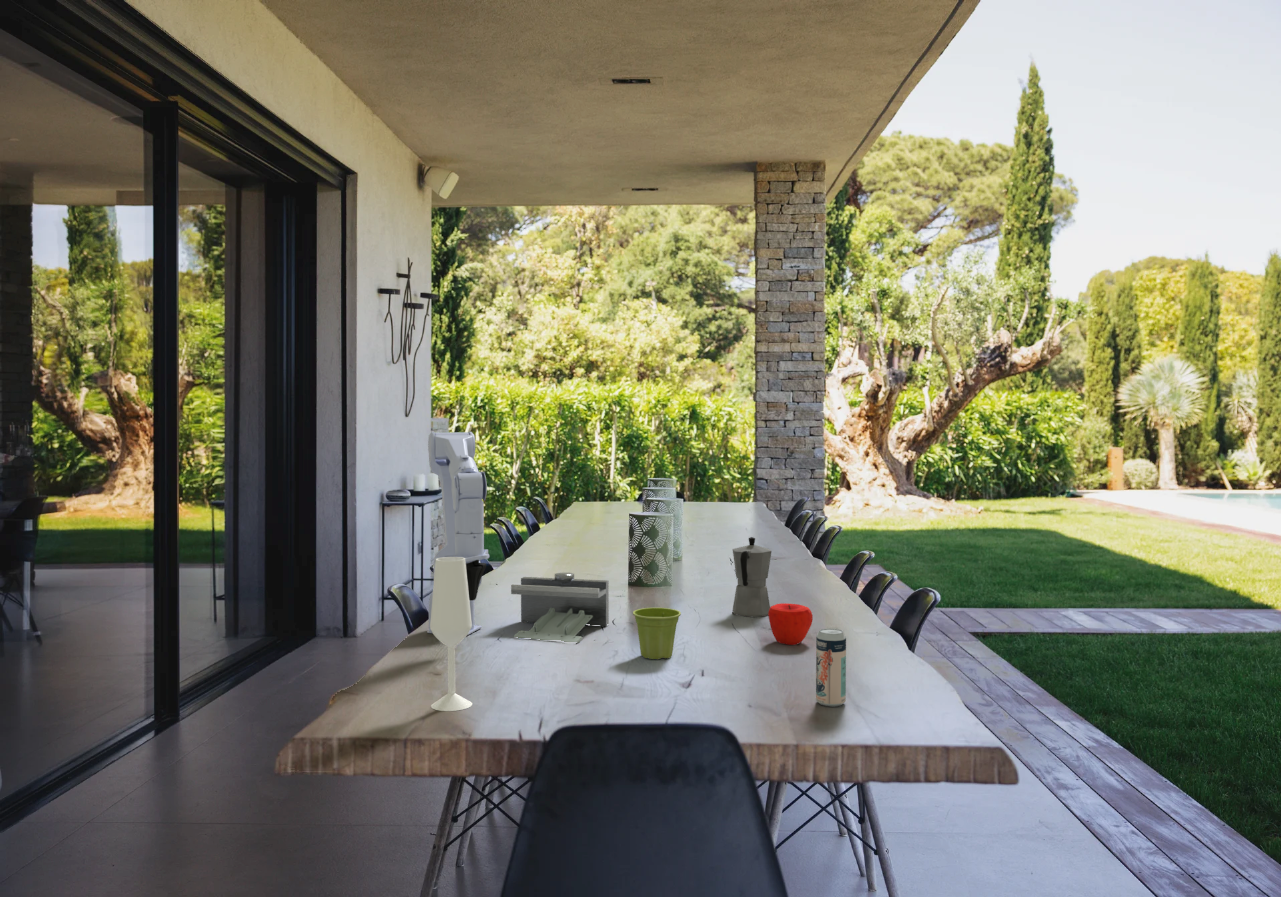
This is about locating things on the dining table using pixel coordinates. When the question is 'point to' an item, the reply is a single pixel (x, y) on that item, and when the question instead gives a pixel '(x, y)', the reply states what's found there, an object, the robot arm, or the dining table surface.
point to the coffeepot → (751, 580)
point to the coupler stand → (563, 597)
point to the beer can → (831, 667)
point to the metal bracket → (557, 626)
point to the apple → (790, 622)
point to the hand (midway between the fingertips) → (469, 599)
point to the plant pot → (656, 631)
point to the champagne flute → (450, 620)
